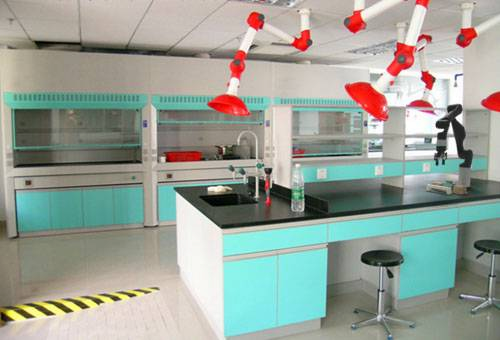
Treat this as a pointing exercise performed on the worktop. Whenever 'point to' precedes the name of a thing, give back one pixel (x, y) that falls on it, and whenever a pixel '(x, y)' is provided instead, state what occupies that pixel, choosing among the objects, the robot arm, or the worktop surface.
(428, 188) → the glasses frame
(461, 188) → the display stand
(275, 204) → the worktop surface
